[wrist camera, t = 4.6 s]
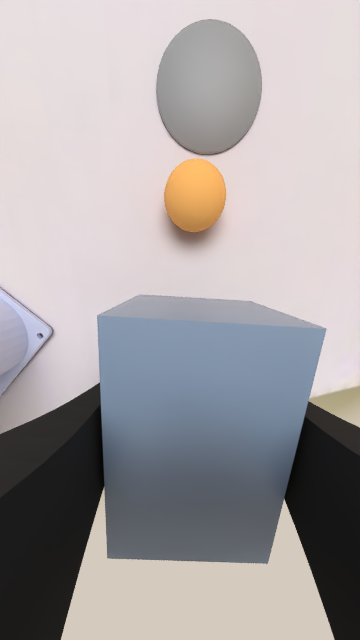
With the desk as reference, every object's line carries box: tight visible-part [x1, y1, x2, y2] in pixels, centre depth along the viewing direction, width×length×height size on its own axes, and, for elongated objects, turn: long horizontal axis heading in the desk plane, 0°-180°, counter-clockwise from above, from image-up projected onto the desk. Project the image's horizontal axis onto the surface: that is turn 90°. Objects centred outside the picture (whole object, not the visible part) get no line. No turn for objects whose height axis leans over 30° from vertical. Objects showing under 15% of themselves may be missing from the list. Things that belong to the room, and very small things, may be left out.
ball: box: [164, 159, 226, 232], centre depth 12 cm, size 4×4×4 cm
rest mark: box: [157, 19, 262, 154], centre depth 13 cm, size 7×7×1 cm
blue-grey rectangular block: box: [97, 295, 326, 564], centre depth 8 cm, size 9×6×5 cm, turn 177°
